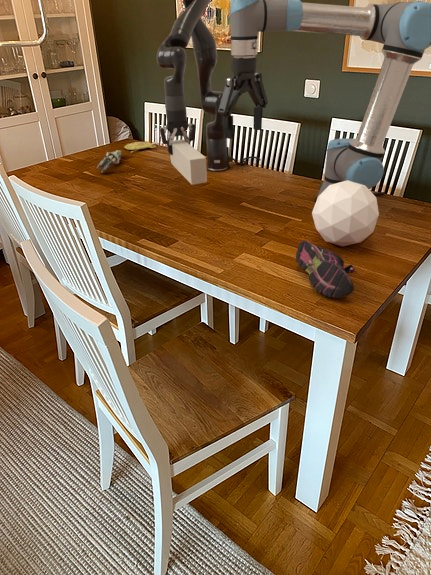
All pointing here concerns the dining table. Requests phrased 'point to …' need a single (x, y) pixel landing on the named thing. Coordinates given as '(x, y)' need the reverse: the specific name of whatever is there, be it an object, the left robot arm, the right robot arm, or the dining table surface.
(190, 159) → the bar
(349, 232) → the sphere
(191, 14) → the left robot arm
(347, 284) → the athletic shoe
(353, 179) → the right robot arm
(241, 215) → the dining table surface
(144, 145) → the decorative object
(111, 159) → the figurine
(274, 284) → the dining table surface
